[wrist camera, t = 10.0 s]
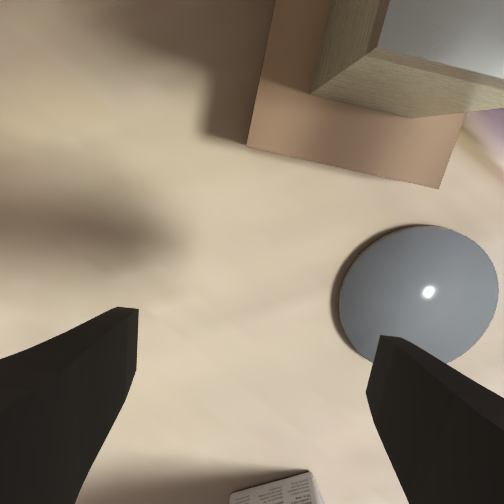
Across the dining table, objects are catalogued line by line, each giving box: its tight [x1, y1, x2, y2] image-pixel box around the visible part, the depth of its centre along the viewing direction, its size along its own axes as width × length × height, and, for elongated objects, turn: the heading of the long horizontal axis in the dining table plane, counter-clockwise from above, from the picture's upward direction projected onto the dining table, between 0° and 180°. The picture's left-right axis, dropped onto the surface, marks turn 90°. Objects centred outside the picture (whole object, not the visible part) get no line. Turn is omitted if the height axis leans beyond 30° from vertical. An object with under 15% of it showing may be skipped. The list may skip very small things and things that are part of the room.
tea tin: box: [310, 0, 504, 119], centre depth 11 cm, size 5×5×9 cm
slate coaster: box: [338, 225, 499, 364], centre depth 22 cm, size 9×9×1 cm
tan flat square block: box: [246, 0, 466, 189], centre depth 17 cm, size 9×9×3 cm
